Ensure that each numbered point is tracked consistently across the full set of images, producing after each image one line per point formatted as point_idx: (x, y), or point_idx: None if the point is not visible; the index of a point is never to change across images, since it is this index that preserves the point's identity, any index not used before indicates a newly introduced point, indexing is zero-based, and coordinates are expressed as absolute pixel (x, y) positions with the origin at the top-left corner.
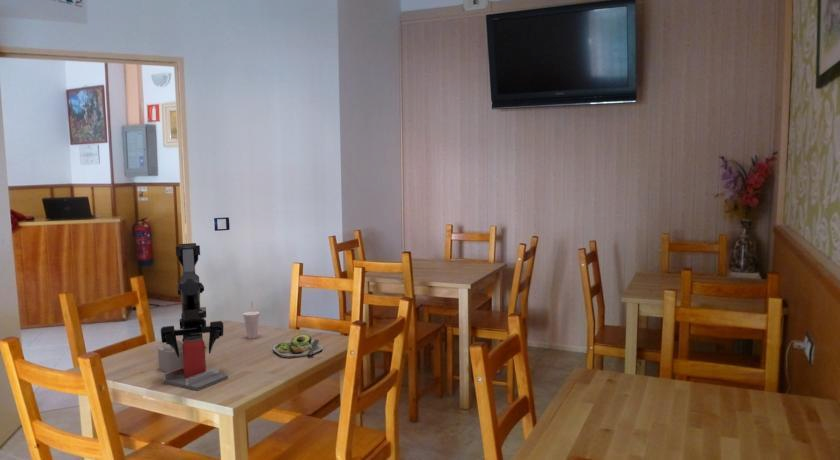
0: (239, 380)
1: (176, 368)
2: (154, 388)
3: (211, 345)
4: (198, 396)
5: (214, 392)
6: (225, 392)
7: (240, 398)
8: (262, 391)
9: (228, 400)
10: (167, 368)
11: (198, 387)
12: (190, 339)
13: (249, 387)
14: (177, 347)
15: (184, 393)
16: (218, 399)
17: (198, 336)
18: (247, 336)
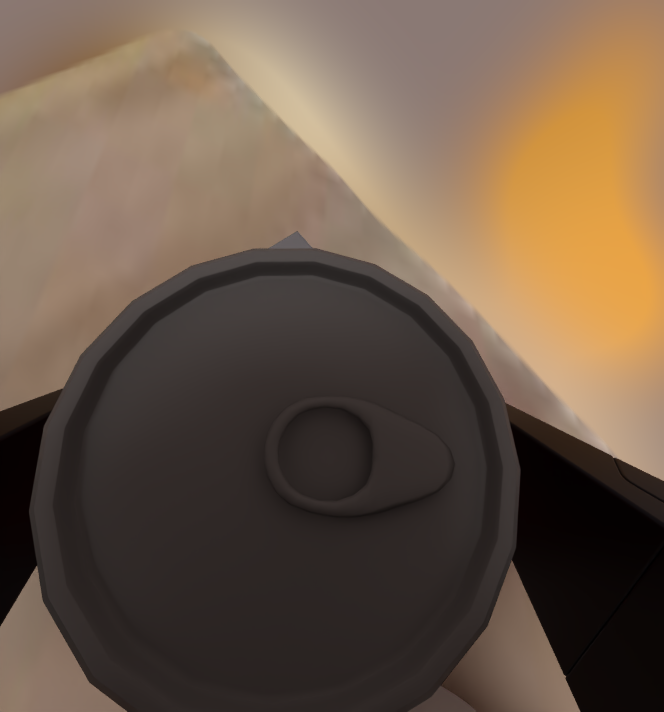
0: (45, 298)
1: (436, 699)
2: (518, 381)
3: (2, 413)
4: (299, 174)
5: (222, 187)
6: (173, 164)
7: (131, 76)
8: (7, 100)
9: (184, 80)
10: None
11: (292, 236)
12: (360, 399)
13: (40, 172)
14: (541, 439)
15: (360, 237)
16: (221, 106)
17: (114, 647)
18: None
